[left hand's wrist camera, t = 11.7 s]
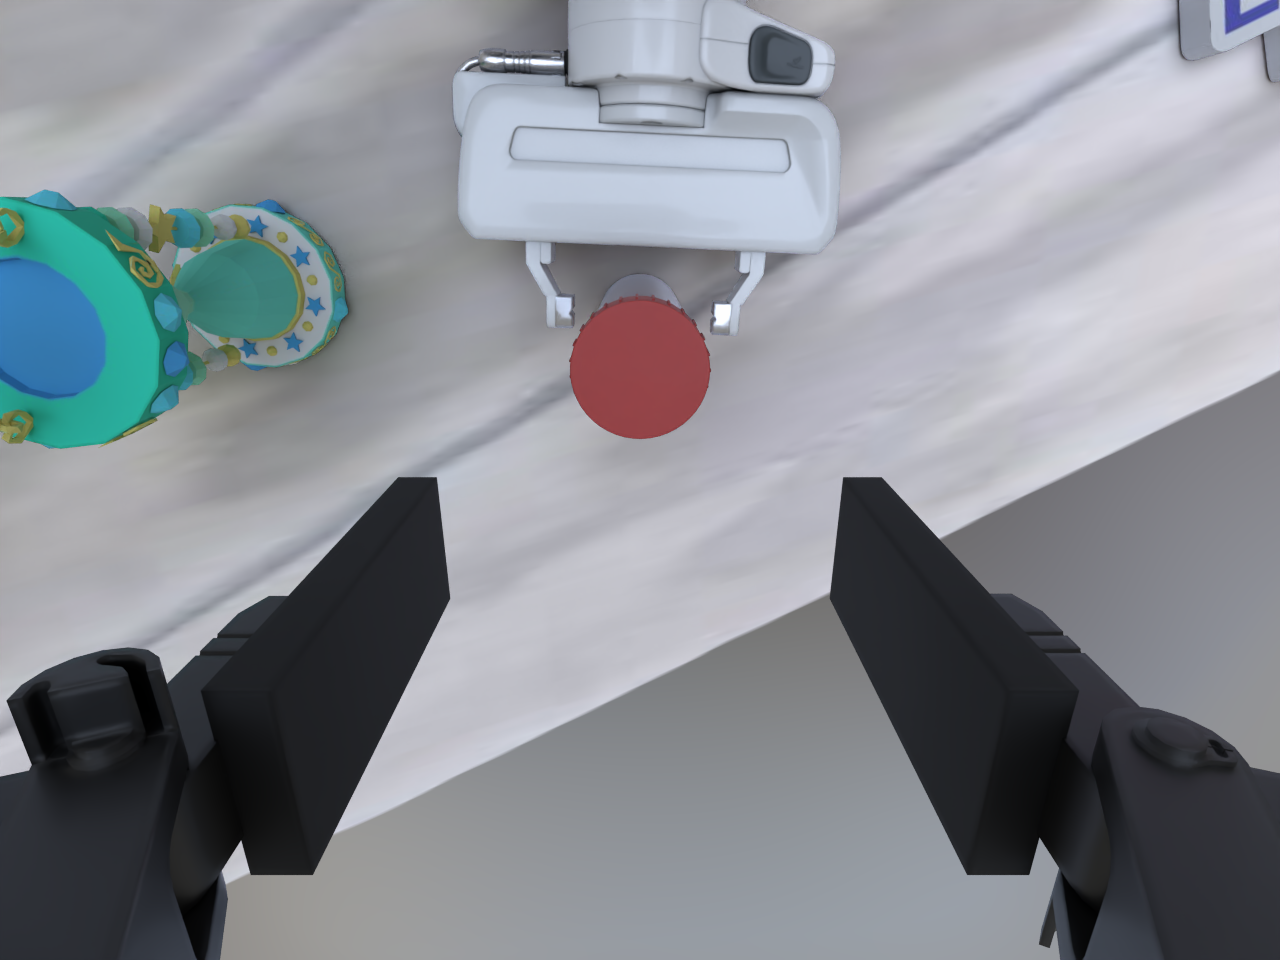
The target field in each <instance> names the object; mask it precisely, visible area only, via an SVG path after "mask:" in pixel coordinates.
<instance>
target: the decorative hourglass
mask: <svg viewBox="0 0 1280 960" xmlns="http://www.w3.org/2000/svg"><path fill="white" fill-rule="evenodd" d="M165 241H168V242H171V243H173V244H174V245H176V246H178V249H177V253H176V256H175V260H174V263H173V264H172V266H173V272H172V275H171V277H170V280H169V281H170V282H169V281H168V280H167V279H166V277H165V276H164V275H163V273H162V272H161V271H160V270H159V268H158V267H157V265H156V264H155V262H154V261H153V260H152V259H151V258H150V257H149V256H148V254H147V253H146V252H145V251H144V250H145V249H146V248H147V247H148V246H149V251H152V252H156V253H159V252H160V250H161V248H162V247H163V245H164V243H165ZM347 314H348V308H347V305H346V301H345V292H344V277H343V275H342V273H341V271H340V269H339V266H338V264H337V262H336V260H335V258H334V255H333V253H332V251H331V249H330V247H329V246H328V245H327V244H326V243H325V242H324V241H323V240H322V239H321V238H320V237H319V236H318V235H317V233H316V232H315V231H314V230H313V229H312V228H311V227H310V226H309V225H308V224H307V223H306V222H304V221H302V220H300V219H298V218H296V217H294V216H292V215H290V214H288V213H286V212H285V211H284V209H283V208H282V207H281V206H280V205H279V204H278V203H277V202H276V201H273V200H266V201H263V202H261V203H258V204H257V205H256V206H252V205H250V204H234V205H227V206H224V207H220V208H217V209H214V210H212V211H210V212H207V213H203V212H201V211H200V210H198V209H185V210H184V209H182V208H181V209H170V210H169V211H168V212H167V213H166V214H163V212H162V210H161V208H160V207H158V206H154V205H150V210H149V221H148V220H147V218H146V217H145V215H143V214H142V213H140V212H138V211H137V210H135V209H133V208H118V209H117V210H116V209H114V208H113V207H105V208H98V209H97V210H96V209H94V208H92V207H75V206H74V205H73V204H71V203H70V202H69V201H68V200H67V199H65V198H64V197H63V196H62V195H61V194H59V193H57V192H53V191H48V190H43V191H41V192H39V193H37V194H34V195H32V196H30V197H28V198H25V197H0V432H3V433H4V435H3V437H2V439H3V440H5V441H6V442H8V443H22V442H23V440H27V441H31V442H35V443H39V444H42V445H44V446H45V447H47V448H49V449H50V448H60V449H62V448H70V447H79V446H88V445H96V444H104V443H105V444H104V445H107V444H109V443H112V442H114V441H116V440H119V439H121V438H123V437H126V436H128V435H130V434H132V433H134V432H136V431H138V430H140V429H142V428H144V427H146V426H148V425H150V424H152V423H154V422H156V421H157V419H156V417H157V416H159V415H160V414H162V413H163V412H165V411H167V410H170V409H172V408H173V407H175V406H176V405H177V404H178V403H179V399H178V390H186V389H187V388H188V387H189V386H190V385H199V384H200V383H201V382H202V381H203V380H205V379H206V369H207V368H208V369H210V370H212V371H220V370H223V369H224V368H225V367H226V366H234V365H236V364H238V363H239V361H240V362H242V363H243V364H244V365H246V366H247V367H248V368H250V369H251V370H256V371H258V370H261V369H263V368H265V367H279V366H284V365H292V364H297V363H299V362H300V361H301V360H304V359H307V358H308V357H309V356H311V355H312V356H313V355H315V354H316V353H318V352H319V351H320V350H321V349H322V348H323V347H325V346H326V345H327V343H328V342H329V341H330V340H331V339H332V338H333V337H334V336H335V335H336V333H337V330H338V328H339V325H340V322H341V319H342V318H343V317H345V316H346V315H347ZM187 320H188V321H190V322H191V324H192V326H193V328H194V329H195V330H196V331H197V332H199V333H200V334H201V335H202V336H203V337H204V338H205V339H206V340H207V341H208V342H209V343H210V344H211V345H212V346H213V347H214V348H215V349H208V350H206V351H205V352H204V354H203V357H202V359H201V358H200V357H198V356H197V355H195V354H193V353H191V352H188V330H187V327H186V322H187ZM295 362H297V363H295ZM154 418H155V419H154ZM12 437H14V438H12ZM104 445H102V446H104ZM102 446H100V447H102Z"/></svg>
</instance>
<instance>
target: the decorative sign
mask: <svg viewBox="0 0 1280 960" xmlns="http://www.w3.org/2000/svg"><path fill="white" fill-rule="evenodd" d="M1179 12H1180V36H1181V51H1182V54H1183V56H1184V57H1185V58H1186V59H1188V60H1193V61H1194V60H1198V59H1201V58H1205V57H1208V56H1212V55H1215V54H1219V53H1222V52H1226V51H1228V50H1231V49H1233V48H1234V47H1236V46H1238V45H1240V44H1242V43H1244V42H1247V41H1249V40H1251V39H1253V38H1255V37H1257V36H1259V35H1261V34H1264V42H1265V51H1266V59H1267V68H1268V74H1269V78H1270V80H1271V81H1272V82H1278V81H1280V0H1179Z"/></svg>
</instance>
